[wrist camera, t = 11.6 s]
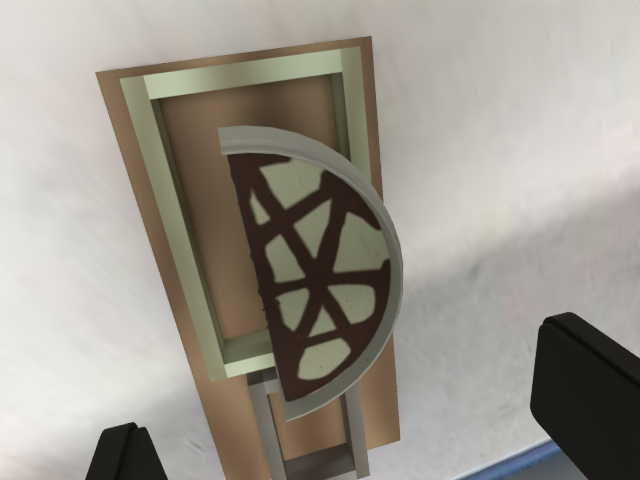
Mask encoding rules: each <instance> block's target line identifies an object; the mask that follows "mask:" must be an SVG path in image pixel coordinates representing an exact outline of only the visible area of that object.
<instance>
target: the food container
mask: <svg viewBox="0 0 640 480" xmlns="http://www.w3.org/2000/svg"><path fill="white" fill-rule="evenodd" d="M218 134H219V141H220V145H221V153H222V155H227V158H228V162H229V166H230V172H231V175H230V176H231V178H232V180H233V183H234V187H235V191H236V195H237V199H238V201H237V204H238V206H239V210H240V213H241V216H242V221H243V225H244V229H245V233H246V237H247V241H248V244H249V249H250V258H251V260H252V262H253V265H254V269H255V274H256V280H257V282H258V294H259V295H260V296H261V300H262V304H263V309H262V311H263V312H265V319H266V322H267V326H266V327H267V329H268V331H269V336H270V341H271V346H272V352H273V357H274V362H275V367H276V372H277V377H278V382H279V387H280V392H281V398H282V403H283V408H284V413H285V418H286V422H288V421H291V420H293V419H296V418H299V417H302V416H305V415H307V414H309V413H311V412H313V411H315V410H317V409H319V408H321V407H323V406H325V405H326V404H328V403H329V402H331V401H333V400H334V399H336V398H337V397H339V396H340V395H342V394H343V393H344V392H345V391H347V390H348V389H349V388H350V387H351V386H352V385H354V384H355V383H356V382H357V381H358V380H359V379H360V378H361V377H362V376H363V375H364V374H365V373H366V372H367V371H368V369H369V368H370V367H371V366H372V365H373V363H374V362H375V361H376V359H377V358H378V356H379V355H380V354H381V352H382V351H383V349H384V347H385V345H386V343H387V341H388V340H389V338H390V336H391V334H392V332H393V329H394V326H395V323H396V320H397V317H398V314H399V310H400V305H401V299H402V293H403V261H402V254H401V248H400V242H399V239H398V236H397V234H396V231H395V228H394V225H393V222H392V220H391V218H390V216H389V214H388V212H387V210H386V208H385V206H384V204H383V202H382V200H381V199H380V197H379V195H378V193H377V191H376V190H375V188H374V187H373V186H372V185H371V183H370V182H369V181H368V180H367V178H366V177H365V176H364V175H363V173H362V172H361V171H360V170H359V169H357V168H356V167H355V166H354V165H353V164H352V163H351V162H349V161H348V160H347V159H346V158H345V157H344V156H342V155H341V154H339V153H337V152H336V151H334V150H333V149H331V148H329V147H328V146H326V145H324V144H323V143H321V142H318V141H316V140H313V139H311V138H308V137H306V136H303V135H301V134H299V133H295V132H290V131H286V130H282V129H277V128H273V127H260V126H244V125H243V126H232V127H221V128H218Z"/></svg>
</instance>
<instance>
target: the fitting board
mask: <svg viewBox="0 0 640 480" xmlns="http://www.w3.org/2000/svg"><path fill="white" fill-rule="evenodd" d="M95 73H96V76H97V79H98V83H99V86H100V89H101V92H102V95H103V98H104V101H105V104H106V107H107V110H108V114H109V117H110V120H111V123H112V126H113V129H114V132H115V135H116V138H117V142H118V145H119V148H120V151H121V154H122V157H123V160H124V163H125V166H126V169H127V173H128V176H129V179H130V182H131V185H132V188H133V191H134V194H135V197H136V201H137V204H138V207H139V210H140V213H141V216H142V219H143V222H144V225H145V229H146V232H147V235H148V238H149V241H150V244H151V247H152V250H153V253H154V256H155V260H156V263H157V266H158V269H159V272H160V275H161V278H162V281H163V284H164V288H165V291H166V294H167V297H168V300H169V303H170V306H171V309H172V312H173V315H174V319H175V322H176V325H177V328H178V331H179V334H180V337H181V340H182V343H183V347H184V350H185V353H186V356H187V359H188V362H189V365H190V368H191V371H192V374H193V378H194V381H195V384H196V387H197V390H198V393H199V396H200V399H201V402H202V406H203V409H204V412H205V415H206V418H207V421H208V424H209V427H210V430H211V433H212V437H213V440H214V443H215V446H216V449H217V452H218V455H219V458H220V461H221V465H222V468H223V471H224V474H225V477H226V480H270V479H272V480H357V479H360V478H363V477H366V476H370V473H369V464H368V456H367V450H369V449H373V448H376V447H379V446H383V445H386V444H389V443H393V442H396V441H399V440H400V427H399V413H398V399H397V386H396V372H395V358H394V344H393V332H392V334H391V336H390V338H389V340H388V341H387V343H386V345H385V347H384V349H383V351H382V352H381V354H380V355H379V356H378V358H377V359H376V361H375V362H374V363H373V365H372V366H371V367H370V368H369V369H368V371H367V372H366V373H365V374H364V375H363V376H362V377H361V378H360V379H359V380H358V381H357V382H356V383H355V384H354V385H352V386H351V387H350V388H349V389H348V390H347V391H345V392H344V393H343V394H342V395H340V396H339V397H337V398H336V399H334V400H333V401H331V402H329V403H328V404H326V405H325V406H323V407H321V408H319V409H317V410H315V411H313V412H311V413H309V414H307V415H305V416H302V417H299V418H296V419H293V420H291V421H288V422H286V418H285V413H284V408H283V403H282V398H281V392H280V387H279V382H278V377H277V372H276V367H275V362H274V357H273V352H272V346H271V341H270V336H269V331H268V329H267V327H266V326H267V322H266V319H265V312H263V311H262V309H263V304H262V300H261V296H260V295H259V294H258V282H257V280H256V274H255V269H254V265H253V262H252V260H251V258H250V249H249V244H248V241H247V237H246V233H245V229H244V225H243V221H242V216H241V213H240V210H239V206H238V204H237V201H238V199H237V195H236V191H235V187H234V183H233V180H232V178H231V176H230V175H231V172H230V166H229V162H228V158H227V155H222V153H221V145H220V141H219V134H218V128H221V127H232V126H243V125H244V126H260V127H273V128H277V129H282V130H286V131H290V132H295V133H299V134H301V135H303V136H306V137H308V138H311V139H313V140H316V141H318V142H321V143H323V144H324V145H326V146H328V147H329V148H331V149H333V150H334V151H336V152H337V153H339V154H341V155H342V156H344V157H345V158H346V159H347V160H348V161H349V162H351V163H352V164H353V165H354V166H355V167H356V168H357V169H359V170H360V171H361V172H362V173H363V175H364V176H365V177H366V178H367V180H368V181H369V182H370V183H371V185H372V186H373V187H374V188H375V190H376V191H377V193H378V195H379V197H380V199H381V200H382V202H383V191H382V177H381V163H380V149H379V135H378V122H377V108H376V94H375V80H374V66H373V52H372V38H371V36H369V37H361V38H354V39H346V40H338V41H331V42H323V43H316V44H308V45H300V46H293V47H285V48H278V49H270V50H262V51H255V52H247V53H239V54H232V55H224V56H217V57H209V58H201V59H194V60H186V61H179V62H171V63H163V64H156V65H148V66H141V67H133V68H125V69H118V70H110V71H103V72H95Z"/></svg>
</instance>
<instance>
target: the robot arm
mask: <svg viewBox="0 0 640 480" xmlns="http://www.w3.org/2000/svg"><path fill="white" fill-rule="evenodd" d="M530 409H531V412H532V415H533V417H534V418H535V420H536V421H537V422H538V424H539V425H540V426H541V427H542V428H543V429H544V430H545V431H546V433H547V434H548V435H549V436H550V437H551V438H552V439H553V440H554V442H555V443H556V444H557V445H558V446H559V447H560V448H561V449H562V451H563V452H564V453H565V454H566V455H567V456H568V457H569V458H570V459H571V461H572V462H573V463H574V464H575V465H576V466H577V467H578V468H579V469H580V471H581V472H582V473H583V474H584V475H585V476H586V477H587V479H588V480H640V358H638V357H637V356H635V355H634V354H633V353H631V352H630V351H628V350H627V349H625V348H624V347H622V346H621V345H620V344H618V343H617V342H615V341H614V340H612V339H611V338H609V337H608V336H607V335H605V334H604V333H602V332H601V331H599V330H598V329H596V328H595V327H594V326H592V325H591V324H589V323H588V322H586V321H585V320H583V319H582V318H580V317H579V316H578V315H576V314H574V313H572V312H566V313H562V314H558V315H554V316H550V317H547V318H545V320H544V321H543V325H541V326H540V327H539V331H538V340H537V349H536V358H535V366H534V375H533V384H532V393H531V401H530ZM85 480H168V479H167V476H166V474H165V471H164V469H163V467H162V464H161V462H160V459H159V457H158V455H157V452H156V450H155V447H154V445H153V443H152V440H151V438H150V435H149V433H148V431H147V429H146V428H145V427H141V428H138V426H137V425H136V424H135V423H134V422H131V423H127V424H124V425H120V426H116V427H112V428H108V429H105V430H104V431H103V432H102V434H101V436H100V439H99V441H98V444H97V447H96V450H95V453H94V456H93V459H92V462H91V464H90V467H89V470H88V473H87V476H86V479H85Z"/></svg>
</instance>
